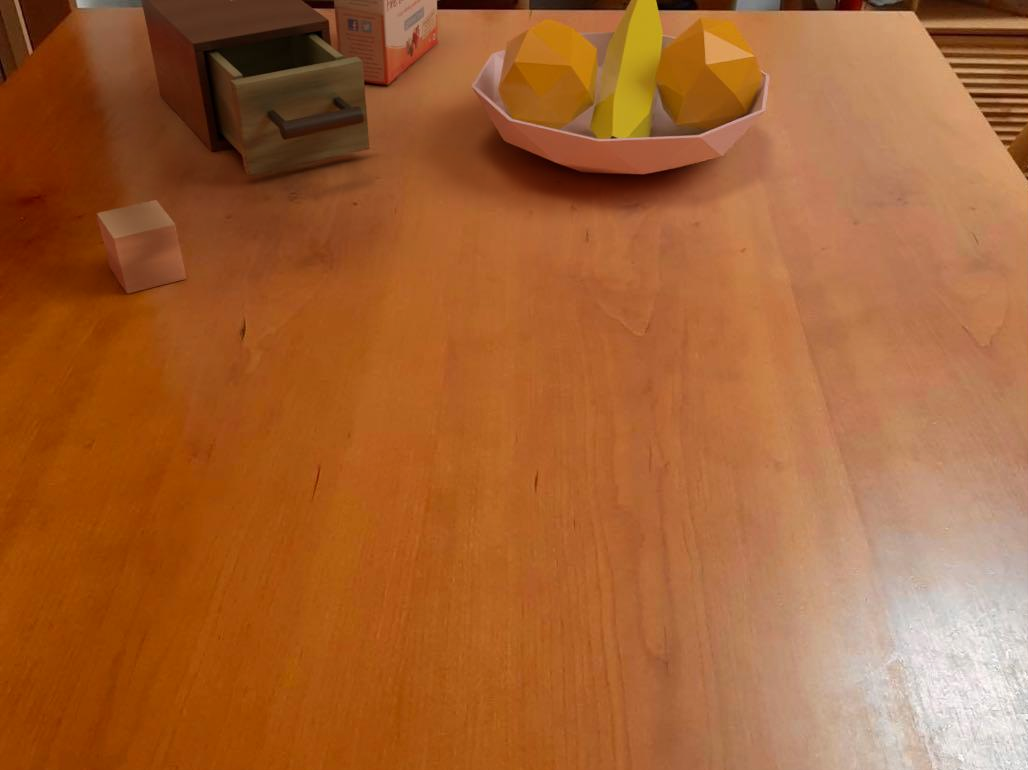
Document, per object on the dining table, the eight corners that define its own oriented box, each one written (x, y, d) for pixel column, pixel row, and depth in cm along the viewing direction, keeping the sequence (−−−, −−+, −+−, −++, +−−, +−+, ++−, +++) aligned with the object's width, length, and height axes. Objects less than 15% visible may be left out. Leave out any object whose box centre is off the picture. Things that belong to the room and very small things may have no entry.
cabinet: (339, 125, 111) (329, 19, 105) (211, 152, 106) (192, 43, 100) (279, 72, 121) (266, -26, 115) (160, 95, 116) (140, -7, 110)
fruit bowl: (697, 234, 95) (714, 95, 87) (419, 163, 105) (412, 32, 97) (812, 117, 113) (834, -6, 105) (565, 66, 123) (569, -50, 115)
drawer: (391, 167, 102) (385, 77, 97) (268, 196, 98) (254, 103, 92) (307, 95, 114) (298, 12, 109) (195, 118, 110) (179, 32, 105)
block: (127, 294, 87) (113, 238, 84) (110, 268, 90) (96, 212, 87) (186, 279, 89) (175, 223, 86) (168, 254, 92) (156, 199, 89)
